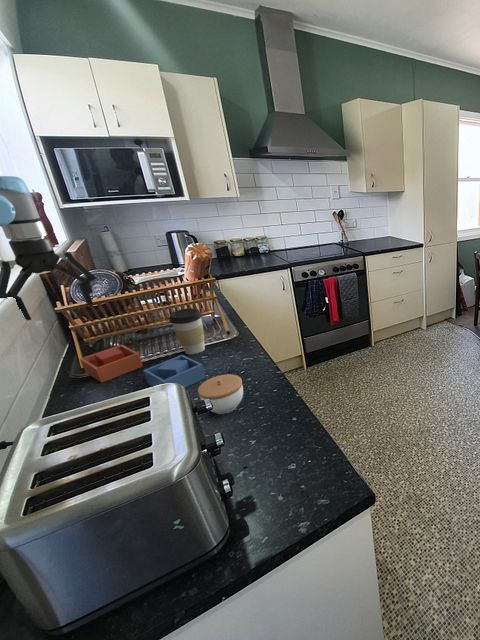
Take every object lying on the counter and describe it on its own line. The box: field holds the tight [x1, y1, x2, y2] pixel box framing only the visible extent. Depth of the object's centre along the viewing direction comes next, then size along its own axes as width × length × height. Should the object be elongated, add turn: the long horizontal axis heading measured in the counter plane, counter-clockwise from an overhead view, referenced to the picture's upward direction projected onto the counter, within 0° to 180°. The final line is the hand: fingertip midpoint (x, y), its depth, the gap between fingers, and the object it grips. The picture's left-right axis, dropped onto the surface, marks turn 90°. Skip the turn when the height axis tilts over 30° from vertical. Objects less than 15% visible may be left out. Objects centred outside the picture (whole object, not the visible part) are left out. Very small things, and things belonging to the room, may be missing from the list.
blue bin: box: [142, 354, 207, 388], centre depth 109 cm, size 11×11×5 cm
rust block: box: [94, 347, 125, 367], centre depth 113 cm, size 6×6×6 cm
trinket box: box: [197, 373, 244, 415], centre depth 97 cm, size 11×11×9 cm
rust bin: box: [79, 344, 144, 383], centre depth 114 cm, size 11×11×5 cm
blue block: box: [158, 359, 189, 380], centre depth 109 cm, size 6×6×6 cm
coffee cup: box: [168, 307, 206, 355], centre depth 125 cm, size 10×10×15 cm
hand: (60, 311), depth 102 cm, fingers open, 13 cm apart
